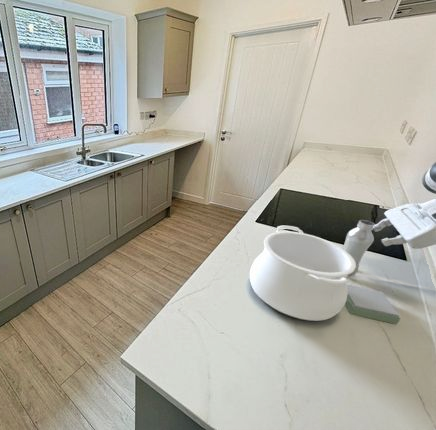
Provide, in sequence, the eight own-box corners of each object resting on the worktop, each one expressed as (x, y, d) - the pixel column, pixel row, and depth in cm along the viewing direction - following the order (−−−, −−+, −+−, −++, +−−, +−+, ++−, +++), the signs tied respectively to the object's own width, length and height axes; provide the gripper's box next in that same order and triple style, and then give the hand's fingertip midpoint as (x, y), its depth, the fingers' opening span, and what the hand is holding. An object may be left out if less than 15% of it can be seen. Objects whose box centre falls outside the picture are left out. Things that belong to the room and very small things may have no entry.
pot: (237, 263, 96) (247, 222, 88) (310, 270, 93) (327, 227, 85) (262, 326, 72) (280, 277, 64) (363, 339, 68) (395, 288, 60)
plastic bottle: (330, 264, 95) (352, 215, 86) (354, 271, 92) (380, 221, 82) (329, 273, 91) (352, 223, 82) (354, 281, 87) (382, 229, 78)
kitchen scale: (379, 298, 80) (383, 291, 79) (396, 324, 72) (401, 316, 70) (337, 289, 84) (341, 282, 82) (349, 313, 75) (354, 306, 74)
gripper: (415, 193, 83) (362, 214, 91) (449, 221, 67) (382, 244, 76) (427, 209, 83) (373, 228, 92) (464, 240, 67) (395, 260, 76)
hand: (377, 235), depth 83 cm, fingers open, 8 cm apart
